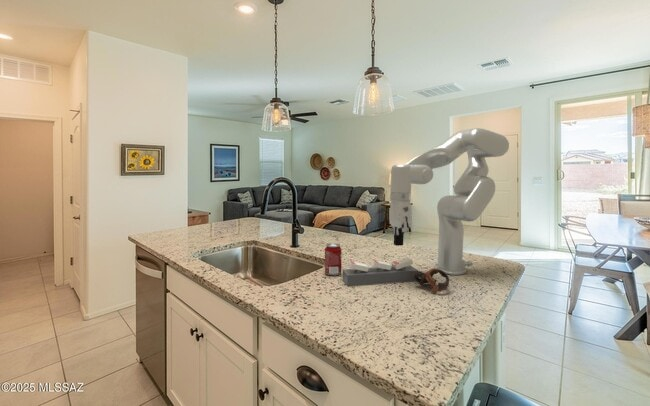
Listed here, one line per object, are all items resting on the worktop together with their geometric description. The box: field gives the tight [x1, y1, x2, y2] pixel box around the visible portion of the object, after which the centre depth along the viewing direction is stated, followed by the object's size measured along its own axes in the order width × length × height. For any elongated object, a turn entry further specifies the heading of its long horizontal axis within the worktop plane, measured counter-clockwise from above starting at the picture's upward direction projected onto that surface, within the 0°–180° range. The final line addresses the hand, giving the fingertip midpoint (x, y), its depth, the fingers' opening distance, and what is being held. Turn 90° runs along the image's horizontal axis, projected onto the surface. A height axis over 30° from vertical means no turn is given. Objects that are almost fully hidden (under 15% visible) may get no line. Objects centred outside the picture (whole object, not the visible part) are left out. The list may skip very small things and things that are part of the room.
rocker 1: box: [347, 260, 370, 272], centre depth 113 cm, size 7×4×2 cm, turn 102°
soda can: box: [324, 242, 342, 277], centre depth 123 cm, size 7×7×12 cm
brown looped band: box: [413, 268, 450, 295], centre depth 107 cm, size 12×10×8 cm
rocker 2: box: [369, 258, 392, 270], centre depth 115 cm, size 7×4×2 cm, turn 102°
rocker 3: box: [390, 256, 414, 270], centre depth 117 cm, size 7×4×2 cm, turn 100°
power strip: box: [342, 265, 420, 287], centre depth 116 cm, size 35×7×5 cm, turn 101°
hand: (398, 244), depth 116 cm, fingers closed
